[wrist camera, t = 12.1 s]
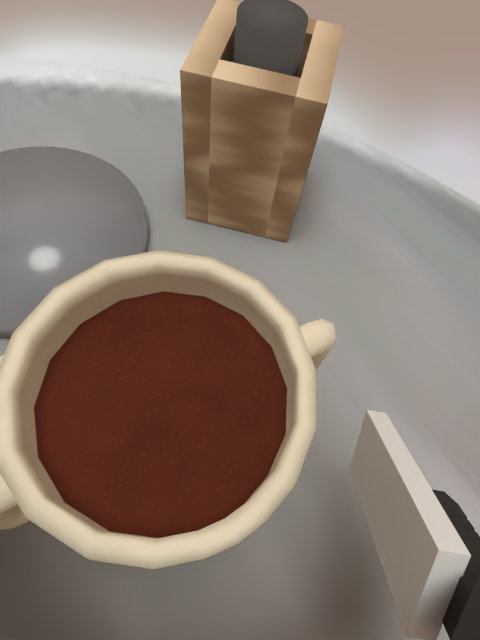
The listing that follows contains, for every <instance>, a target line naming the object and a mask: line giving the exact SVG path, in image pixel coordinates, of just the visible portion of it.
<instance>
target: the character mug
mask: <svg viewBox="0 0 480 640" xmlns="http://www.w3.org/2000/svg"><path fill="white" fill-rule="evenodd" d="M335 341H336V336H335V329H334V324H332V323H330V322H328V321H326V320H324V319H319V320H316V321H312V322H309V323H306V324H302V325H300V326H299V325H298V322H297V320H296V318H295V317H294V316H293V315H292V314H291V313H290V312H289V311H288V310H287V309H286V307H285V306H284V305H283V304H282V303H281V302H280V301H279V300H278V299H277V298H276V297H275V296H274V295H273V294H272V293H271V292H270V291H269V290H268V289H267V288H266V287H265V286H264V285H263V284H262V283H261V282H260V281H259V280H257V279H255V278H253V277H251V276H249V275H247V274H245V273H243V272H241V271H239V270H237V269H235V268H233V267H231V266H229V265H227V264H225V263H223V262H221V261H219V260H216V259H214V258H212V257H206V256H199V255H191V254H184V253H176V252H169V251H162V250H157V251H151V252H146V253H140V254H135V255H129V256H124V257H118V258H113V259H107V260H103V261H102V262H100V263H98V264H96V265H94V266H93V267H91V268H89V269H87V270H85V271H83V272H82V273H80V274H78V275H76V276H74V277H73V278H71V279H69V280H67V281H65V282H64V283H62V284H60V285H58V286H56V287H54V288H53V289H52V290H51V291H50V292H49V294H48V295H47V296H46V297H45V298H44V299H43V300H42V301H41V302H40V303H39V305H38V306H37V307H36V308H35V309H34V310H33V311H32V312H31V313H30V314H29V316H28V317H27V318H26V319H25V320H24V321H23V322H22V323H21V324H20V325H19V327H18V328H17V329H16V330H15V331H14V332H13V333H12V336H11V338H10V341H9V343H8V346H7V348H6V351H5V353H4V356H3V358H2V361H1V363H0V529H11V528H16V527H18V526H20V525H22V524H25V523H27V522H29V521H32V522H33V523H35V524H36V525H38V526H39V527H40V528H42V529H43V530H45V531H46V532H48V533H49V534H51V535H52V536H54V537H55V538H57V539H58V540H60V541H61V542H63V543H64V544H66V545H67V546H69V547H70V548H72V549H73V550H75V551H76V552H78V553H79V554H81V555H82V556H84V557H85V558H87V559H89V560H91V561H98V562H105V563H113V564H120V565H128V566H135V567H142V568H150V569H158V568H163V567H168V566H173V565H178V564H183V563H188V562H192V561H197V560H202V559H206V558H208V557H210V556H213V555H215V554H217V553H219V552H221V551H223V550H226V549H228V548H230V547H232V546H234V545H237V544H239V543H240V542H241V541H242V540H244V539H245V538H246V537H247V536H248V535H250V534H251V533H252V532H253V531H255V530H256V529H257V528H258V527H260V526H261V525H262V524H263V523H265V522H266V521H267V520H268V518H269V517H270V516H271V515H272V513H273V512H274V511H275V510H276V508H277V507H278V506H279V505H280V503H281V502H282V501H283V500H284V498H285V497H286V496H287V495H288V493H289V492H290V491H291V490H292V488H293V487H294V486H295V485H296V482H297V479H298V477H299V474H300V471H301V468H302V466H303V463H304V460H305V457H306V455H307V452H308V449H309V447H310V444H311V441H312V438H313V436H314V433H315V430H316V369H317V368H318V367H319V365H320V364H321V362H322V361H323V359H324V358H325V357H326V355H327V354H328V352H329V351H330V349H331V348H332V346H333V345H334V343H335Z"/></svg>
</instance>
